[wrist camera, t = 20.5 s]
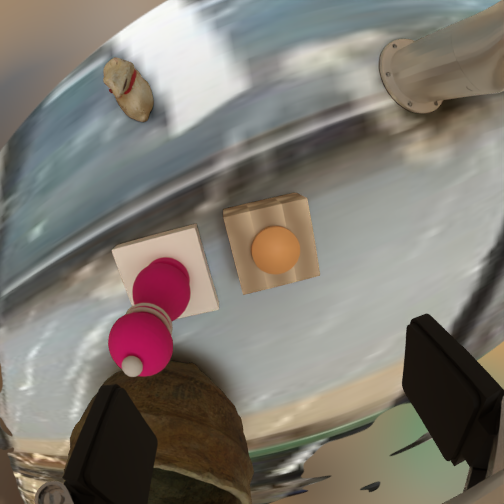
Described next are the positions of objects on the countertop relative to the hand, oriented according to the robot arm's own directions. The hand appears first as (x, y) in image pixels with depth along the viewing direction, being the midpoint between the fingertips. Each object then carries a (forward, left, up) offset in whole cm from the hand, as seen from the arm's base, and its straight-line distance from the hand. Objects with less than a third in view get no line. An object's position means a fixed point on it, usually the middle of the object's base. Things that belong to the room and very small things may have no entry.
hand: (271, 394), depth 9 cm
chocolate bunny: (+9, -19, -34) cm, 40 cm away
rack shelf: (+11, +7, -34) cm, 37 cm away
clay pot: (+18, +28, -34) cm, 48 cm away
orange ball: (-4, +5, -34) cm, 34 cm away
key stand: (-4, +5, -34) cm, 35 cm away
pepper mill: (+11, +6, -32) cm, 34 cm away
